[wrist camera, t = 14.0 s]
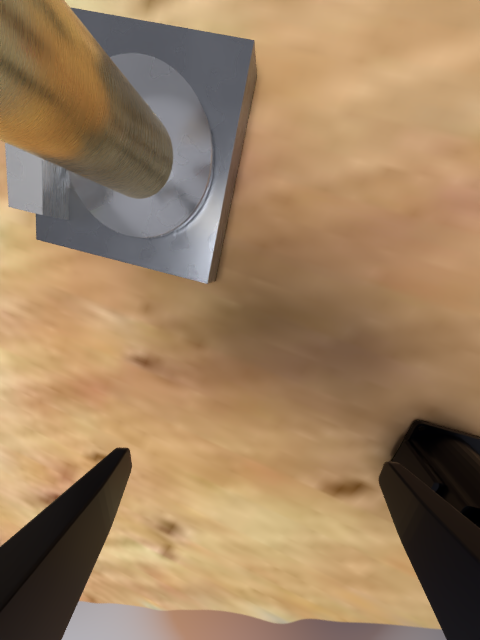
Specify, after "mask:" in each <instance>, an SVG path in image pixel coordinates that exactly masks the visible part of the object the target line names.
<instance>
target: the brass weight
mask: <svg viewBox="0 0 480 640" xmlns="http://www.w3.org/2000/svg"><path fill="white" fill-rule="evenodd" d="M0 140H1V141H3V142H5V143H7V144H10V145H12V146H14V147H17V148H19V149H21V150H23V151H26V152H28V153H30V154H32V155H35V156H37V157H39V158H41V159H44V160H46V161H48V162H51V163H53V164H55V165H57V166H60V167H62V168H64V169H66V170H69V171H71V172H73V173H75V174H78V175H80V176H82V177H84V178H87V179H89V180H91V181H94V182H96V183H98V184H100V185H103V186H105V187H107V188H109V189H112V190H114V191H116V192H118V193H121V194H123V195H125V196H128V197H130V198H135V199H143V198H148V197H150V196H153V195H154V194H156V193H157V192H159V191H160V190H161V189H162V188H163V186H164V185H165V184H166V182H167V180H168V178H169V176H170V173H171V170H172V165H173V148H172V143H171V139H170V136H169V134H168V132H167V130H166V128H165V126H164V125H163V123H162V122H161V121H160V120H159V118H158V117H157V116H156V115H155V113H154V112H153V111H152V110H151V108H150V107H149V106H148V105H147V103H146V102H145V101H144V100H143V98H142V97H141V96H140V95H139V93H138V92H137V91H136V90H135V88H134V87H133V86H132V85H131V83H130V82H129V81H128V80H127V78H126V77H125V76H124V75H123V73H122V72H121V71H120V70H119V68H118V67H117V66H116V65H115V63H114V62H113V61H112V60H111V58H110V57H109V56H108V55H107V53H106V52H105V51H104V50H103V48H102V47H101V46H100V45H99V43H98V42H97V41H96V40H95V38H94V37H93V36H92V35H91V33H90V32H89V31H88V30H87V28H86V27H85V26H84V25H83V23H82V22H81V21H80V20H79V18H78V17H77V16H76V15H75V13H74V12H73V11H72V10H71V8H70V7H69V6H68V5H67V3H66V2H65V1H64V0H0Z"/></svg>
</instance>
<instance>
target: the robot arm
mask: <svg viewBox="0 0 480 640" xmlns="http://www.w3.org/2000/svg"><path fill="white" fill-rule="evenodd" d="M420 426H421V427H420ZM419 427H420V428H419ZM131 468H132V462H131V455H130V450H129V448H116V449H114V450H113V451H112V452H111V453H110V454H108V455H107V456H106V457H105V458H104V459H103V460H101V461H100V462H99V463H98V464H97V465H96V466H94V467H93V468H92V469H91V470H90V471H89V472H87V473H86V474H85V475H84V476H83V477H82V478H80V479H79V480H78V481H77V482H76V483H75V484H73V485H72V486H71V487H70V488H69V489H68V490H66V491H65V492H64V493H63V494H62V495H60V496H59V497H58V498H57V499H56V500H55V501H53V502H52V503H51V504H50V505H49V506H48V507H46V508H45V509H44V510H43V511H42V512H41V513H39V514H38V515H37V516H36V517H35V518H34V519H32V520H31V521H30V522H29V523H28V524H27V525H25V526H24V527H23V528H22V529H21V530H20V531H18V532H17V533H16V534H15V535H14V536H12V537H11V538H10V539H9V540H8V541H7V542H5V543H4V544H3V545H2V546H1V547H0V640H61V639H62V637H63V635H64V632H65V630H66V628H67V626H68V623H69V621H70V619H71V617H72V614H73V612H74V610H75V607H76V605H77V603H78V601H79V599H80V597H81V594H82V592H83V590H84V588H85V585H86V583H87V581H88V579H89V576H90V574H91V572H92V570H93V567H94V565H95V563H96V561H97V558H98V556H99V554H100V552H101V549H102V547H103V545H104V543H105V540H106V538H107V536H108V534H109V531H110V529H111V527H112V524H113V521H114V518H115V516H116V513H117V510H118V507H119V504H120V501H121V498H122V496H123V493H124V490H125V487H126V484H127V481H128V478H129V476H130V473H131ZM379 484H380V487H381V490H382V493H383V495H384V498H385V501H386V503H387V506H388V509H389V511H390V514H391V517H392V519H393V522H394V524H395V527H396V530H397V532H398V535H399V537H400V540H401V542H402V544H403V546H404V549H405V551H406V553H407V555H408V557H409V559H410V562H411V564H412V566H413V568H414V570H415V572H416V574H417V577H418V579H419V581H420V583H421V585H422V587H423V589H424V592H425V594H426V596H427V598H428V600H429V602H430V605H431V607H432V609H433V611H434V613H435V615H436V617H437V620H438V622H439V624H440V626H441V628H442V630H443V632H444V635H445V637H446V639H447V640H480V437H477V436H474V435H470V434H467V433H463V432H460V431H456V430H453V429H449V428H446V427H442V426H439V425H435V424H432V423H428V422H425V421H420V420H418V421H415V422H414V423H413V424H412V426H411V428H410V430H409V431H408V433H407V435H406V437H405V439H404V440H403V442H402V444H401V446H400V448H399V449H398V451H397V453H396V455H395V457H394V458H393V460H392V462H385V463H384V465H383V468H382V470H381V473H380V475H379Z"/></svg>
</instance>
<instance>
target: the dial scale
mask: <svg viewBox="0 0 480 640" xmlns="http://www.w3.org/2000/svg"><path fill="white" fill-rule="evenodd" d="M71 10H72V11H73V12H74V13H75V15H76V16H77V17H78V18H79V20H80V21H81V22H82V23H83V25H84V26H85V27H86V28H87V30H88V31H89V32H90V33H91V35H92V36H93V37H94V38H95V40H96V41H97V42H98V43H99V45H100V46H101V47H102V48H103V50H104V51H105V52H106V53H107V55H108V56H109V57H110V58H111V60H112V61H113V62H114V63H115V65H116V66H117V67H118V68H119V70H120V71H121V72H122V73H123V75H124V76H125V77H126V78H127V80H128V81H129V82H130V83H131V85H132V86H133V87H134V88H135V90H136V91H137V92H138V93H139V95H140V96H141V97H142V98H143V100H144V101H145V102H146V103H147V105H148V106H149V107H150V108H151V110H152V111H153V112H154V113H155V115H156V116H157V117H158V118H159V120H160V121H161V122H162V123H163V125H164V126H165V128H166V130H167V132H168V134H169V136H170V139H171V143H172V148H173V165H172V170H171V173H170V176H169V178H168V180H167V182H166V184H165V185H164V186H163V188H162V189H161V190H160V191H159V192H157V193H156V194H154V195H153V196H150V197H148V198H143V199H135V198H130V197H128V196H125V195H123V194H121V193H118V192H116V191H114V190H112V189H109V188H107V187H105V186H103V185H100V184H98V183H96V182H94V181H91V180H89V179H87V178H84V177H82V176H80V175H78V174H75V173H73V172H71V171H69V170H66V169H64V168H62V167H60V166H57V165H55V164H53V163H51V162H48V161H46V160H44V159H41V158H39V157H37V156H35V155H32V154H30V153H28V152H26V151H23V150H21V149H19V148H17V147H14V146H12V145H10V144H7V143H5V148H6V166H7V183H8V201H9V207H12V208H16V209H20V210H24V211H28V212H32V213H36V239H37V240H41V241H44V242H48V243H52V244H56V245H60V246H64V247H68V248H71V249H75V250H79V251H83V252H87V253H91V254H95V255H98V256H102V257H106V258H110V259H114V260H118V261H122V262H125V263H129V264H133V265H137V266H141V267H145V268H149V269H152V270H156V271H160V272H164V273H168V274H172V275H175V276H179V277H183V278H187V279H191V280H195V281H199V282H202V283H206V284H208V283H211V282H214V281H215V280H216V275H217V271H218V266H219V261H220V256H221V251H222V246H223V241H224V236H225V231H226V226H227V221H228V216H229V211H230V207H231V202H232V197H233V192H234V187H235V182H236V177H237V172H238V167H239V162H240V157H241V152H242V147H243V143H244V138H245V133H246V128H247V123H248V118H249V113H250V108H251V103H252V98H253V93H254V88H255V83H256V79H257V69H256V56H255V43H254V40H249V39H243V38H238V37H232V36H227V35H221V34H215V33H210V32H204V31H199V30H193V29H188V28H182V27H176V26H171V25H165V24H160V23H154V22H148V21H143V20H137V19H132V18H126V17H120V16H115V15H109V14H104V13H98V12H93V11H87V10H81V9H76V8H71Z"/></svg>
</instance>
